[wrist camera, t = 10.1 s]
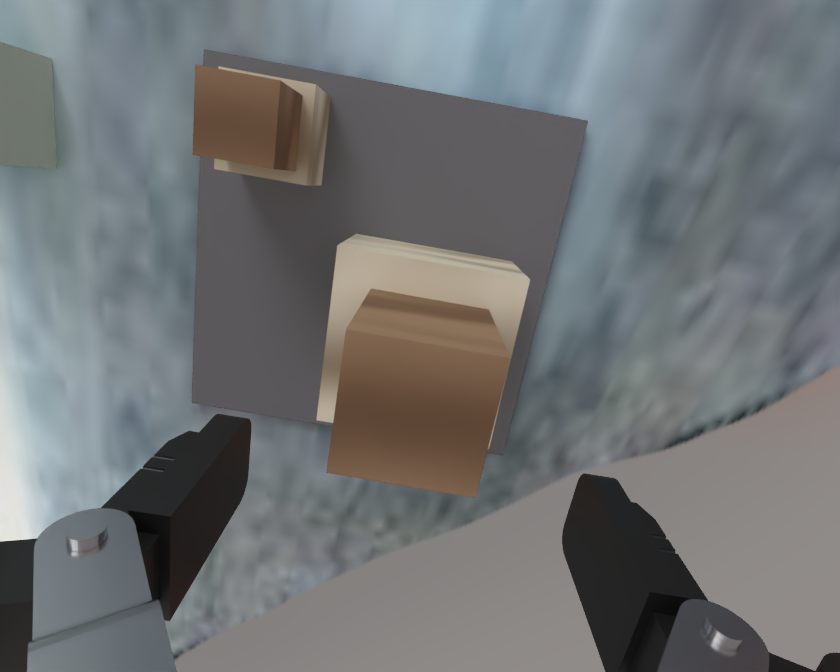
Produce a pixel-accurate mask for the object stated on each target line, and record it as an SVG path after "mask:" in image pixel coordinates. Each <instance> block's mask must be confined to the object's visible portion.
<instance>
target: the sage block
mask: <svg viewBox="0 0 840 672" xmlns="http://www.w3.org/2000/svg"><path fill="white" fill-rule="evenodd" d="M0 166H15V167H38V168H57V150H56V130H55V110H54V90H53V70H52V59H51V58H48V57H45V56H42V55H39V54H36V53H33V52H30V51H27V50H23V49H20V48H17V47H14V46H11V45H8V44H5V43H2V42H0Z"/></svg>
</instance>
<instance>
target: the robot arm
mask: <svg viewBox="0 0 840 672" xmlns="http://www.w3.org/2000/svg"><path fill="white" fill-rule="evenodd" d="M250 440H251V421H250V419H246V418H240V417H234V416H228V415H222V414H217V415H215V416H214V417H213V418H212V419H211V420H210V421H209V422H208V424H207V425H206V426H205V427H204V428H203V429H202V430H201V431H200V432H199V433H198V432H192V431H188V432H186V433H184V434H182V435H180V436H178V437H176V438H174V439H172V440H170V441H168V442H167V443H166V444H165V445H164V446H163V447H162V448H161V449H160V450H159V451H158V452H157V453H156V454H155V456H154V458H153V457H152V458H151V459H150V460H149V461H148V462H147V463H146V464H145V465H144V466H143V469H140V470H139V471H138V472H137V473H136V474H135V475H134V476H133V477H132V478H131V479H130V480H129V481H128V482H127V483H126V484H125V485H124V486H123V487H122V488H121V489H120V490H119V491H118V492H117V493H116V494H115V495H113V496H112V497H111V498H110V499H109V500H108V501H107V502H106V503H105V504H104V505H103V506H102V507H101V508H98V509H90V510H84V511H80V512H77V513H74V514H71V515H68V516H66V517H64V518H62V519H60V520H58V521H56V522H55V523H53V524H52V525H50V526H49V527H47V528H46V529H45V530H44V531H43V532H42V533H41V534H40V536H39V537H38V538H37V539H29V540H17V541H4V542H0V672H177V671H176V667H175V662H174V658H173V654H172V650H171V646H170V642H169V638H168V633H167V629H166V625H165V621H164V620H167V621H170V620H171V618H172V616H173V615H174V613H175V611H176V610H177V608H178V606H179V604H180V603H181V601H182V599H183V598H184V596H185V594H186V593H187V591H188V589H189V588H190V586H191V584H192V583H193V581H194V579H195V578H196V576H197V574H198V573H199V571H200V569H201V567H202V566H203V564H204V562H205V561H206V559H207V557H208V556H209V554H210V552H211V551H212V549H213V547H214V546H215V544H216V542H217V541H218V539H219V537H220V535H221V534H222V532H223V530H224V529H225V527H226V525H227V524H228V522H229V520H230V519H231V517H232V515H233V514H234V512H235V510H236V509H237V507H238V505H239V504H240V502H241V500H242V497H243V495H244V492H245V488H246V485H247V480H248V470H249V455H250ZM562 544H563V551H564V555H565V558H566V561H567V564H568V566H569V569H570V572H571V575H572V578H573V581H574V583H575V586H576V589H577V592H578V595H579V598H580V601H581V603H582V606H583V609H584V612H585V615H586V618H587V620H588V623H589V626H590V629H591V632H592V634H593V638H594V640H595V643H596V646H597V649H598V652H599V655H600V657H601V660H602V663H603V666H604V669H605V671H606V672H840V653H829V654H827V655H825V656H824V657H823V659H822V661H821V662H820V664H819V666H818V667H817V669H816V671H813V670H811V669H808V668H806V667H803V666H801V665H798V664H796V663H794V662H791V661H789V660H786V659H783V658H781V657H779V656H776V655H773V654H771V653H769V652H768V650H767V648H766V646H765V643H764V642H763V640H762V639H761V637H760V636H759V635H758V634H757V633H756V631H755V630H754V629H753V628H752V627H751V626H750V625H749V624H748V623H746V622H745V621H744V620H743V619H742V618H740V617H739V616H737V615H736V614H734V613H733V612H731V611H730V610H728V609H726V608H724V607H722V606H720V605H718V604H715V603H713V602H710V601H708V600H707V598H706V597H705V595H704V593H702V590H701V589H700V587H699V586H698V584H697V583H696V581H695V580H694V579H693V577H692V575H691V574H690V572H689V571H688V569H687V568H686V566H685V565H684V563H683V561H682V560H681V558H680V557H679V555H678V554H675V549H674V548H673V546H672V545H671V543H670V542H669V540H667V539H666V536H665V534H664V533H663V531H662V530H661V528H660V526H659V525H658V523H657V522H656V520H655V519H654V518H653V517H652V516H651V515H650V514H648V513H647V512H646V511H645V510H644V509H643V508H642V507H640V506H639V505H638V504H637V503H633V502H630V500H629V498H628V496H627V495H626V493H625V492H624V490H623V488H622V487H621V485H620V483H619V482H618V481H617V480H616V479H615V478H609V477H603V476H597V475H590V474H582V475H581V477H580V478H579V480H578V483H577V486H576V489H575V492H574V495H573V499H572V502H571V505H570V508H569V511H568V514H567V518H566V521H565V524H564V529H563V536H562Z"/></svg>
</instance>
